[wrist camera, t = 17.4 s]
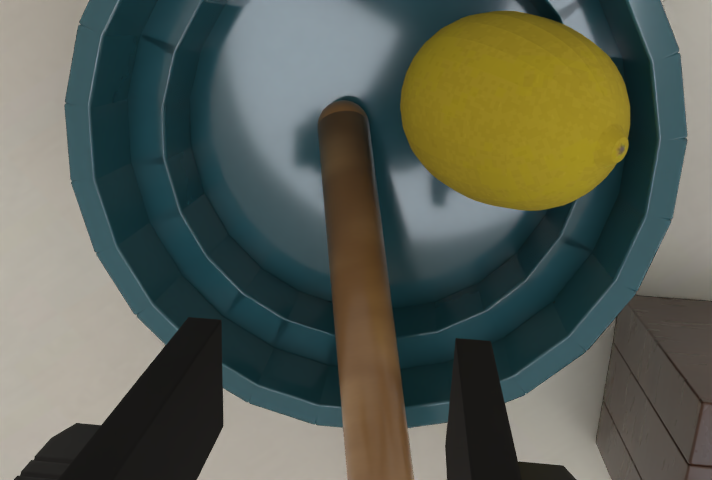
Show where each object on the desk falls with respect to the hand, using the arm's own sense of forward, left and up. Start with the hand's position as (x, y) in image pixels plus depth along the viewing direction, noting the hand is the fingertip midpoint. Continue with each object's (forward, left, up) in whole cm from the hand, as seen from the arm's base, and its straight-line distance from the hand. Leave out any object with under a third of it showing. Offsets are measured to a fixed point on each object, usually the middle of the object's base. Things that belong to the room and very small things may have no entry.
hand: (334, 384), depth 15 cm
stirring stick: (-5, -1, -11) cm, 12 cm away
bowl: (-4, 0, -12) cm, 12 cm away
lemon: (-6, +1, -10) cm, 12 cm away
